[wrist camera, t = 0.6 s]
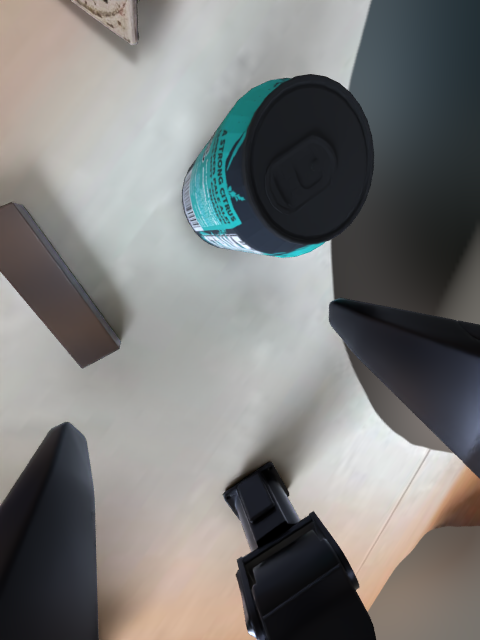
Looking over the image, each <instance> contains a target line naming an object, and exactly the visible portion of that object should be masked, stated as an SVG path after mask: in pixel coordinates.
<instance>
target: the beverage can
mask: <svg viewBox="0 0 480 640" xmlns="http://www.w3.org/2000/svg"><path fill="white" fill-rule="evenodd" d="M373 168H374V149H373V140H372V135H371V131H370V128H369V124H368V121H367V118H366V116H365V114H364V112H363V110H362V108H361V106H360V104H359V103H358V102H357V101H356V99H355V98H354V97H353V95H352V94H351V93H350V92H349V91H348V90H347V89H346V88H344V87H343V86H342V85H341V84H340V83H338V82H336V81H334V80H332V79H330V78H328V77H326V76H320V75H313V74H308V75H302V76H296V77H293V78H283V79H276V80H270V81H267V82H265V83H263V84H261V85H259V86H257V87H254V88H252V89H251V90H250V91H249V92H247V93H246V94H245V95H244V96H243V97H241V98H240V99H239V100H238V101H237V102H236V104H235V105H234V107H233V108H232V109H231V111H230V112H229V114H228V115H227V116H226V118H225V119H224V121H223V122H222V123H221V125H220V126H219V128H218V129H217V130H216V132H215V133H214V135H213V136H212V137H211V139H210V140H209V142H208V143H207V144H206V146H205V147H204V149H203V150H202V151H201V153H200V154H199V156H198V157H197V158H196V160H195V161H194V163H193V164H192V166H191V167H190V168H189V170H188V172H187V175H186V177H185V179H184V184H183V189H182V202H183V207H184V212H185V215H186V217H187V220H188V222H189V224H190V225H191V227H192V228H193V230H194V231H195V232H196V233H197V235H198V236H199V237H200V238H201V239H203V240H204V241H206V242H207V243H209V244H211V245H213V246H216V247H218V248H225V249H231V250H237V251H243V252H250V253H256V254H262V255H269V256H275V257H281V258H284V257H296V256H299V255H302V254H305V253H308V252H311V251H312V250H314V249H316V248H317V247H319V246H321V245H322V244H324V243H325V242H326V241H329V240H331V239H332V238H334V237H336V236H337V235H339V234H341V233H342V232H343V231H344V230H345V229H346V228H347V227H348V226H349V225H350V224H351V223H352V222H353V220H354V219H355V218H356V216H357V215H358V214H359V212H360V210H361V208H362V206H363V204H364V202H365V201H366V198H367V194H368V192H369V189H370V186H371V180H372V175H373Z"/></svg>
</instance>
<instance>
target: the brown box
mask: <svg viewBox="0 0 480 640" xmlns="http://www.w3.org/2000/svg"><path fill="white" fill-rule="evenodd" d="M0 272H1V273H2V274H3V275H4V276H5V278H6V279H7V280H8V281H9V282H10V283H11V285H12V286H13V287H14V288H15V289H16V291H17V292H18V293H19V294H20V295H21V297H22V298H23V299H24V300H25V301H26V303H27V304H28V305H29V306H30V307H31V309H32V310H33V311H34V312H35V313H36V314H37V316H38V317H39V318H40V319H41V320H42V322H43V323H44V324H45V325H46V326H47V328H48V329H49V330H50V331H51V332H52V334H53V335H54V336H55V337H56V338H57V339H58V341H59V342H60V343H61V344H62V345H63V347H64V348H65V349H66V350H67V351H68V353H69V354H70V355H71V356H72V357H73V359H74V360H75V361H76V362H77V363H78V364H79V366H80V367H81V368H82V369H83V368H85V367H87V366H89V365H90V364H92V363H94V362H96V361H98V360H100V359H102V358H103V357H105V356H107V355H109V354H111V353H113V352H115V351H116V350H118V349H120V344H121V341H120V340H119V338H118V337H117V335H116V334H115V333H114V331H113V330H112V328H111V327H110V326H109V324H108V323H107V322H106V320H105V319H104V317H103V316H102V315H101V313H100V312H99V310H98V309H97V308H96V306H95V305H94V303H93V302H92V301H91V299H90V298H89V297H88V295H87V294H86V292H85V291H84V290H83V288H82V287H81V285H80V284H79V283H78V281H77V280H76V278H75V277H74V276H73V274H72V273H71V272H70V270H69V269H68V267H67V266H66V265H65V263H64V262H63V260H62V259H61V258H60V256H59V255H58V253H57V252H56V251H55V249H54V248H53V247H52V245H51V244H50V242H49V241H48V240H47V238H46V237H45V235H44V234H43V233H42V231H41V230H40V228H39V227H38V226H37V224H36V223H35V222H34V220H33V219H32V217H31V216H30V215H29V213H28V212H27V210H26V209H25V208H24V206H23V205H21V204H17V203H13V202H11V203H8V204H6V205H4V206H1V207H0Z"/></svg>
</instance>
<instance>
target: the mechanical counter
mask: <svg viewBox="0 0 480 640" xmlns="http://www.w3.org/2000/svg"><path fill="white" fill-rule="evenodd" d="M71 1H72V2H73V3H75V4H76V5H77V6H79V7H80V8H81V9H83V10H84V11H85V12H87V13H88V14H89V15H91V16H92V17H93V18H95V19H96V20H97V21H99V22H100V23H101V24H103V25H104V26H106V27H107V28H108V29H110V30H111V31H113V32H114V33H115V34H117V35H118V36H120V37H121V38H122V39H124V40H125V41H127V42H128V43H129V44H131V45H134V44H137V43H138V40H139V34H138V19H137V3H138V2H139V1H140V0H71Z"/></svg>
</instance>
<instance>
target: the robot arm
mask: <svg viewBox="0 0 480 640" xmlns="http://www.w3.org/2000/svg"><path fill="white" fill-rule="evenodd" d="M329 322H330V325H331V326H332V327H333V329H334V330H335V331H336V332H337V334H338V335H339V336H340V337H341V338H342V340H343V341H344V342H345V343H346V344H347V346H348V347H349V348H350V349H351V351H352V352H353V353H354V354H355V355H356V356H357V358H358V359H359V360H360V361H362V363H363V364H365V366H366V367H367V368H369V370H370V371H372V373H374V374H375V375H376V376H377V377H378V378H379V379H380V380H381V381H382V382H383V383H384V384H385V385H386V386H387V387H388V388H389V389H390V390H391V391H392V392H393V393H394V394H395V395H396V396H397V397H398V398H399V399H400V400H401V401H402V402H403V403H404V404H405V405H406V406H407V407H408V408H409V409H410V410H411V411H412V412H413V413H414V414H415V415H416V416H417V417H418V418H419V419H420V420H421V421H422V422H423V423H424V424H425V425H426V426H427V427H428V428H429V429H430V430H431V431H432V432H433V433H434V434H435V435H436V436H437V437H438V438H439V439H440V440H441V441H443V443H444V444H445V445H446V446H448V447H449V449H450V450H451V451H452V452H454V454H455V455H457V456H458V457H459V458H460V459H461V460H463V463H464V464H465V465H466V466H467V467H468V468H469V469H470V470H471V471H472V472H473V473H474V474H476V475H477V476H478V477H479V478H480V325H479V324H473V323H468V322H463V321H456V320H452V319H447V318H443V317H437V316H432V315H426V314H422V313H416V312H412V311H407V310H401V309H396V308H391V307H385V306H381V305H375V304H370V303H365V302H360V301H355V300H350V299H345V298H338V299H336V300H334V301H332V302H330V304H329ZM223 496H224V499H225V501H226V502H227V504H228V505H229V506H230V508H231V509H232V510H233V512H234V513H235V514H236V516H237V517H238V518H239V520H240V521H241V524H242V527H243V529H244V532H245V535H246V538H247V541H248V544H249V547H250V550H251V552H250V553H249V554H247V555H246V556H244V557H243V558H242V557H240V558H239V559H237V563H238V567H239V570H238V572H237V573H236V577H237V580H238V584H239V588H240V591H241V596H242V601H243V608H244V615H245V621H246V627H247V630H248V633H249V634H250V635H252V636H254V637H255V638H257V640H376V636H375V632H374V627H373V624H372V622H371V619H370V616H369V615H368V612H367V611H366V609H365V607H364V605H363V603H362V601H361V599H360V598H359V596H358V594H357V592H356V590H357V589H358V588H359V583H358V581H357V578H356V576H355V574H354V572H353V570H352V568H351V566H350V564H349V562H348V560H347V559H346V557H345V555H344V553H343V552H342V550H341V549H340V547H339V546H338V544H337V543H336V541H335V540H334V539H333V537H332V536H331V534H330V533H329V532H328V530H327V529H326V528H325V526H324V525H323V523H322V522H321V521H320V519H319V518H318V517H317V515H316V514H315V512H314V511H313V512H311V513H310V514H309V516H307V517H305V518H304V519H302V520H300V519H299V517H298V515H297V513H296V511H295V510H294V508H293V506H292V504H291V502H290V501H289V499H288V496H289V492H288V490H287V488H286V486H285V485H284V483H283V481H282V479H281V478H280V476H279V474H278V472H277V470H276V469H275V467H274V465H273V463H272V462H269V463H267V464H265V465H264V466H262V467H261V468H259V469H258V470H257V471H255V472H254V473H252V474H251V475H249V476H248V477H246V478H245V479H243V480H242V481H240V482H239V483H237V484H236V485H235V486H233V487H232V488H230V489H229V490H227V491H226V492H225V493H224V494H223ZM0 640H99V634H98V599H97V563H96V528H95V497H94V486H93V479H92V473H91V466H90V459H89V453H88V446H87V441H86V438H85V437H84V435H83V434H82V433H81V432H80V431H78V430H77V429H76V428H75V427H74V426H73V425H72V424H71V423H69V422H64V423H62V424H60V425H58V426H55V427H53V428H52V429H51V430H50V431H49V432H48V434H47V435H46V437H45V439H44V440H43V442H42V443H41V445H40V446H39V448H38V449H37V451H36V452H35V454H34V455H33V457H32V458H31V460H30V461H29V463H28V464H27V466H26V467H25V469H24V471H23V472H22V474H21V475H20V477H19V478H18V480H17V481H16V483H15V484H14V486H13V487H12V489H11V490H10V492H9V493H8V495H7V496H6V498H5V500H4V501H3V503H2V504H1V506H0Z"/></svg>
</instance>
